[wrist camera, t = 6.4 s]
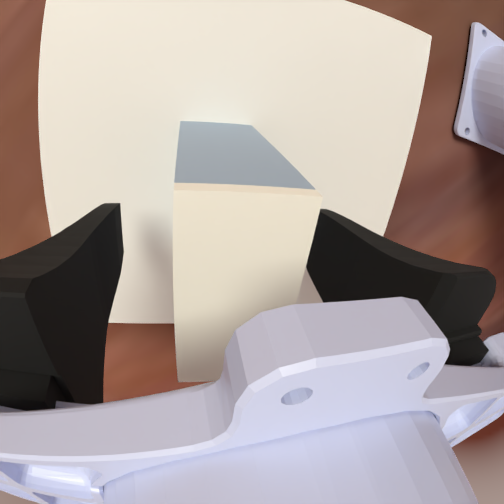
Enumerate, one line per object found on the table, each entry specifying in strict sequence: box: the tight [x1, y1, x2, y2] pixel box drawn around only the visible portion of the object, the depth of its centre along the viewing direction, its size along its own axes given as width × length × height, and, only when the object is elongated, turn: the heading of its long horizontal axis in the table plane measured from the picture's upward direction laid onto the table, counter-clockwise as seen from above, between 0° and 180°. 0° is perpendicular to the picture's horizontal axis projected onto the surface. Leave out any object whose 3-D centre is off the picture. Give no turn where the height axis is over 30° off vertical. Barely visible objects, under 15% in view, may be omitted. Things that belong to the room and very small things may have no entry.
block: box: [173, 121, 323, 382], centre depth 11 cm, size 3×6×8 cm, turn 173°
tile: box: [38, 0, 432, 323], centre depth 15 cm, size 18×18×1 cm
